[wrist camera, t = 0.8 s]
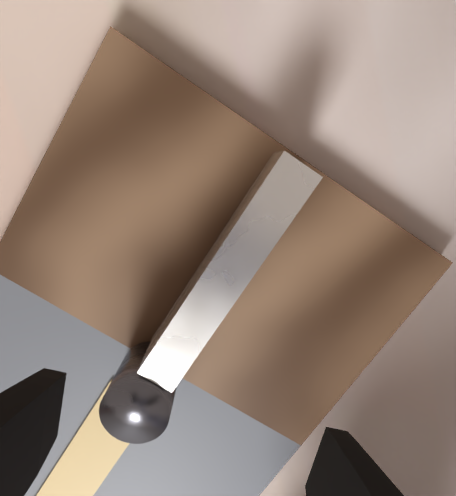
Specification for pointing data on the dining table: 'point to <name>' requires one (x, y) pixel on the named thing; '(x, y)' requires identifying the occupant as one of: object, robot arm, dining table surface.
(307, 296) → the plate
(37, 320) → the door plate
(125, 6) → the dining table surface
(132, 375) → the lock bar
